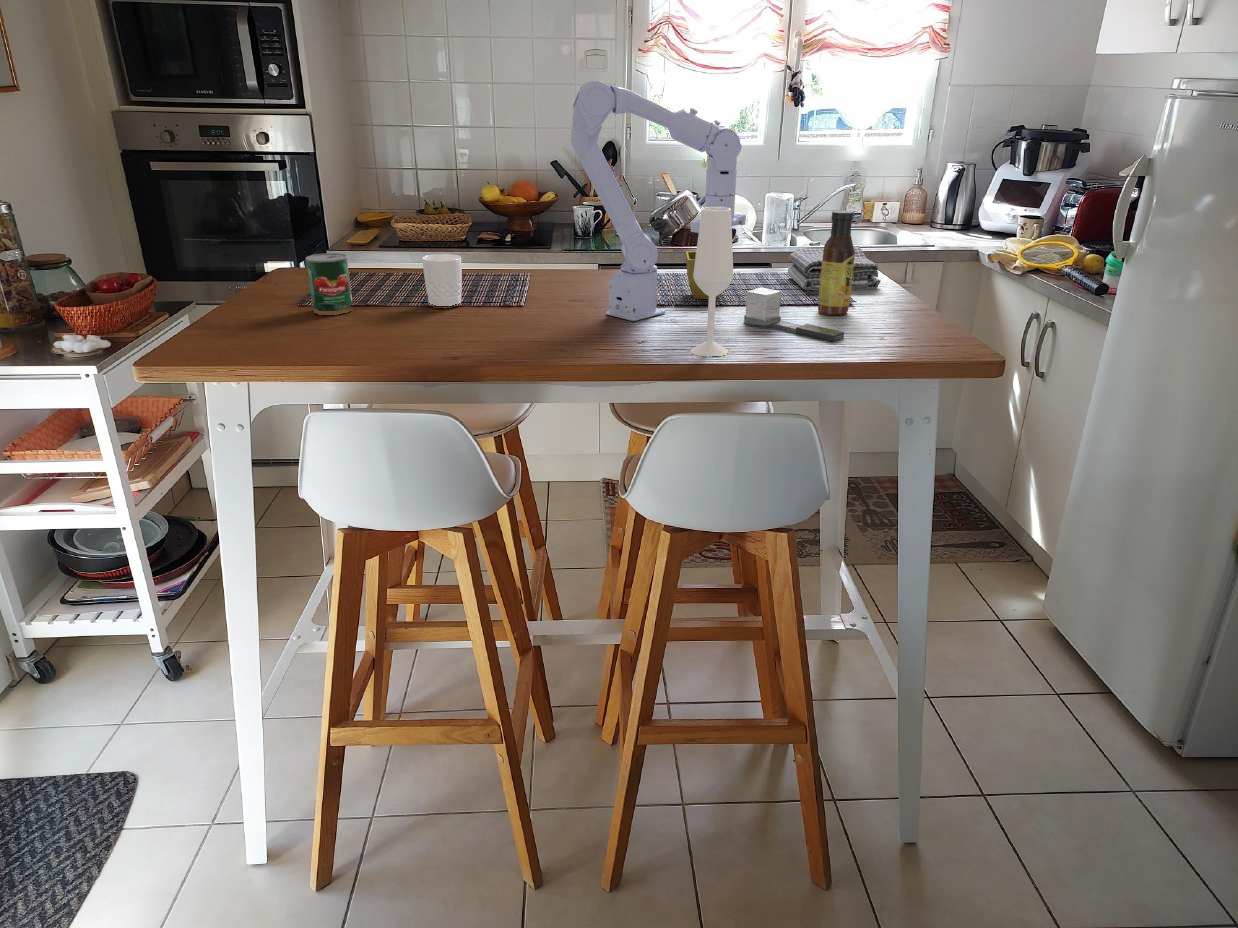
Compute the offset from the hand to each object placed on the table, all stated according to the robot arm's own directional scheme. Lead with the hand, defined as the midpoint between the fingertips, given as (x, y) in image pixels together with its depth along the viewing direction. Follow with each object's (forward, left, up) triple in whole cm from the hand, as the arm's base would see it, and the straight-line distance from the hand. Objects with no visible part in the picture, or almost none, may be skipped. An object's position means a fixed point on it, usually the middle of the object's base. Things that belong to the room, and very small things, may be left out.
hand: (716, 265), depth 169 cm
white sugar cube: (0, -12, -8) cm, 14 cm away
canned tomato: (-55, +55, -10) cm, 78 cm away
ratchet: (0, -19, -10) cm, 21 cm away
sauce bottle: (+17, -17, -10) cm, 26 cm away
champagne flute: (-22, -17, -10) cm, 29 cm away
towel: (+40, -2, -10) cm, 42 cm away
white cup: (-36, +43, -10) cm, 57 cm away
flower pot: (+9, +10, -10) cm, 17 cm away
